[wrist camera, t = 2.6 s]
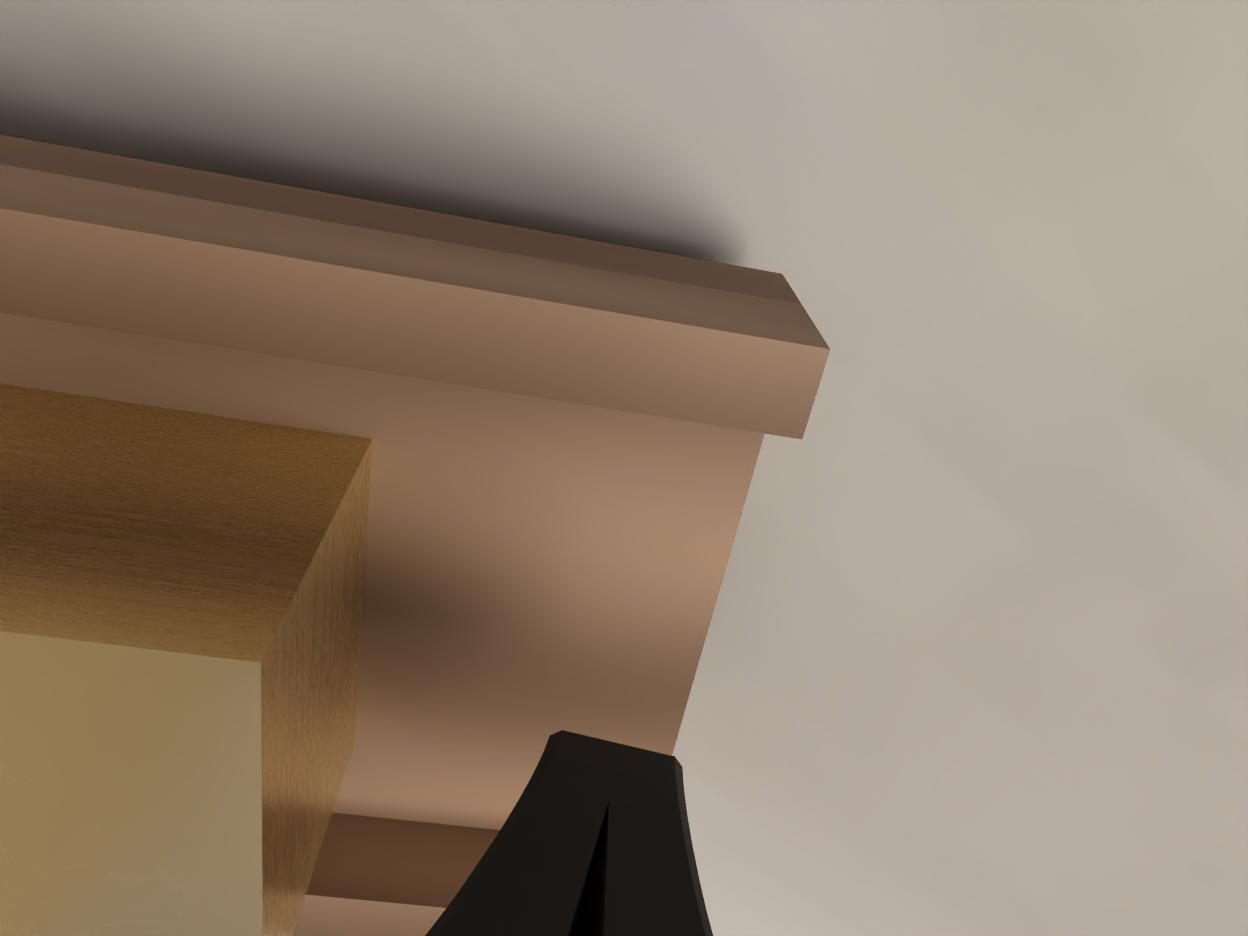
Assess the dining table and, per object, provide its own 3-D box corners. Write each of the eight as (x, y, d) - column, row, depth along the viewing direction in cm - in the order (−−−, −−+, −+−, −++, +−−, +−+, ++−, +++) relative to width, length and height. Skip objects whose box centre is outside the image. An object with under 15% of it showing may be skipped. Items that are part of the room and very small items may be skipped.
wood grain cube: (354, 743, 13) (263, 1024, 9) (-11, 701, 12) (-252, 985, 9) (372, 438, 11) (260, 663, 7) (-76, 371, 10) (-436, 577, 7)
